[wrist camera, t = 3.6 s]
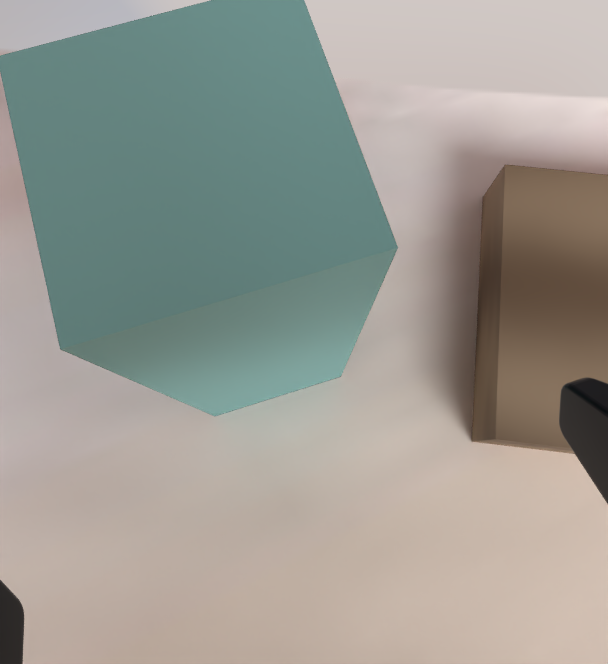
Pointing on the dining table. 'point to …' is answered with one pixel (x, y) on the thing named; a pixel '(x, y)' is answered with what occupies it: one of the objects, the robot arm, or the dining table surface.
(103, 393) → the dining table surface
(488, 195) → the slab
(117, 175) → the pillar
